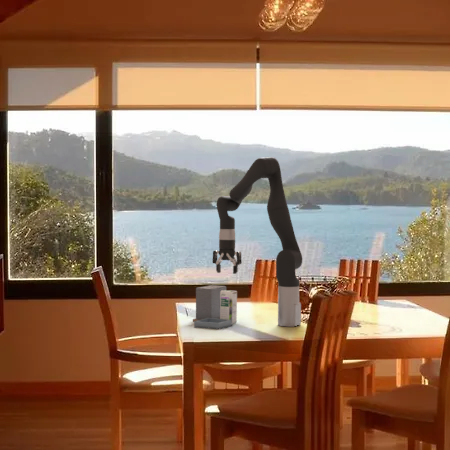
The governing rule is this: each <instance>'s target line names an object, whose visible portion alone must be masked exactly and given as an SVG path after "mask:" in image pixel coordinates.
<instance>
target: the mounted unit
mask: <svg viewBox="0 0 450 450" xmlns="http://www.w3.org/2000/svg"><path fill="white" fill-rule="evenodd" d="M222 290H227V286H225V285H215V284H214V285H211V284H209V285H205V286H200V287H195V318H193V319H192V322H194V321H198V320H202V319H206V318H216V319H220V291H222Z"/></svg>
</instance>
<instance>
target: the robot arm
mask: <svg viewBox="0 0 450 450" xmlns="http://www.w3.org/2000/svg"><path fill="white" fill-rule="evenodd" d="M261 179H268V183H269V184H268V185H269V196H268V199H267V200H268V201H267V205H266V210H267V214H268V219H269V223H270V225H271V227H272V228H273V231H275V233H276V235H277V236H278V239H279V241H280V243H281V247H282V250H280V251H279V252H277V256H276V258H275V259H276V262H275V272H276V274H275V275H276V280H277V283H278V284H277V288H278V289H277V293H278V294H277V325H278V326H280V327H294V326H296V327H298V326H297V325H299V326H301V325H300V324H301V323H302V303H301V302H300V279H299V278H298V277H297V276H296V270H298V269H299V268H300V267H301V266H302V264H303V256H302V252H301V249H300V246H299V243H298V240H297V238H296V235H295V230H294V227H293V223H292V219H291V213H290V209H289V207H288V203H287V200H286V195H285V191H284V185H283V178H282V171H281V167H280V163H279V161H278V159H277V158H276V157H274V156H265V157H258V158H256V159H255V160H254V161H253V163H252V164H251V165H250V167H249V168H248V170H247V171H246V173H245V174H244V175H243V177H242V178H241V179H240V180H239V182H238V183H237V184H235V186H234V187H232V189H231V190H230V191H229V195H227V196H224V195H221V196H219V197H218V198H217V200H216V204H215V205H216V210H217V214H218V217H219V234H218V235H219V236H218V238H219V239H218V240H219V241H218V243H219V244H218V249H219V250H213V251H212V264H215V267H216V269H215V271H216V273H218V274H220V273H221V272H222V271H221V268H222V267H221V264H222V262H223V261H230V262H231V263H232V265H233V266H232V273H233V274H235V275H236V274H237V273H238V271H239V270H238V269H239V267H238V266H240V265H242V251H236V229H235V228H236V220H235V217H234V216H231V215H229V213H228V212H234V211H237V210H238V209H239V208H240V205H241V204H242V202H243V200H244V199H246V197H247V196H248V195H249V194H250V193H251V191H252V190H253V189H252V188H253V186H254V184H255V183H256V182H258V181H259V180H261ZM218 255H219V257H218ZM235 256H236V257H235Z"/></svg>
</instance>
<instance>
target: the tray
mask: <svg viewBox="0 0 450 450" xmlns="http://www.w3.org/2000/svg"><path fill="white" fill-rule="evenodd" d="M193 322H194V328H198V329H199V328H200V329H201V328H203V329H212V330H221V329H222V330H223V329H224V328H229V327H232V326H233V324H232V320H228V319H216V318H206V319H202V320H198V321H193Z"/></svg>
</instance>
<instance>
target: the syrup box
mask: <svg viewBox="0 0 450 450" xmlns="http://www.w3.org/2000/svg"><path fill="white" fill-rule="evenodd" d="M237 305H238V291H237V290H231V289H230V290H227V289H226V290H222V291H220V319H228V320H232V325H233V324H236V323H238V322H237V321H238V320H237V318H238V317H237V316H238V309H237V307H238V306H237Z"/></svg>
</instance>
